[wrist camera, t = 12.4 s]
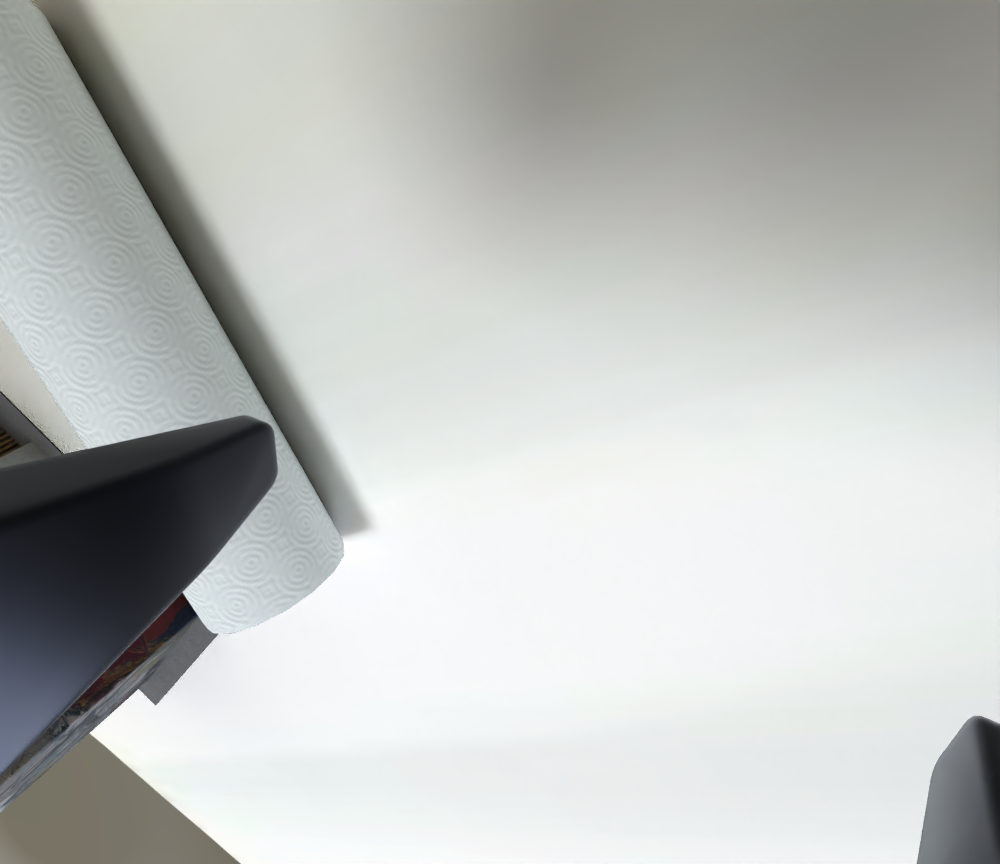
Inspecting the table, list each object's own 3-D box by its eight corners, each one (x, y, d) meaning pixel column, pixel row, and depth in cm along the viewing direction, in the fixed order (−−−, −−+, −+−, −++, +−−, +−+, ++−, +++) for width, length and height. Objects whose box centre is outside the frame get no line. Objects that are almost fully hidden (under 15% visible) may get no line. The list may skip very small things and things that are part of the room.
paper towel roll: (334, 599, 26) (-42, -37, 20) (184, 661, 27) (-227, 63, 21) (363, 514, 33) (89, 19, 27) (243, 565, 34) (-53, 93, 28)
